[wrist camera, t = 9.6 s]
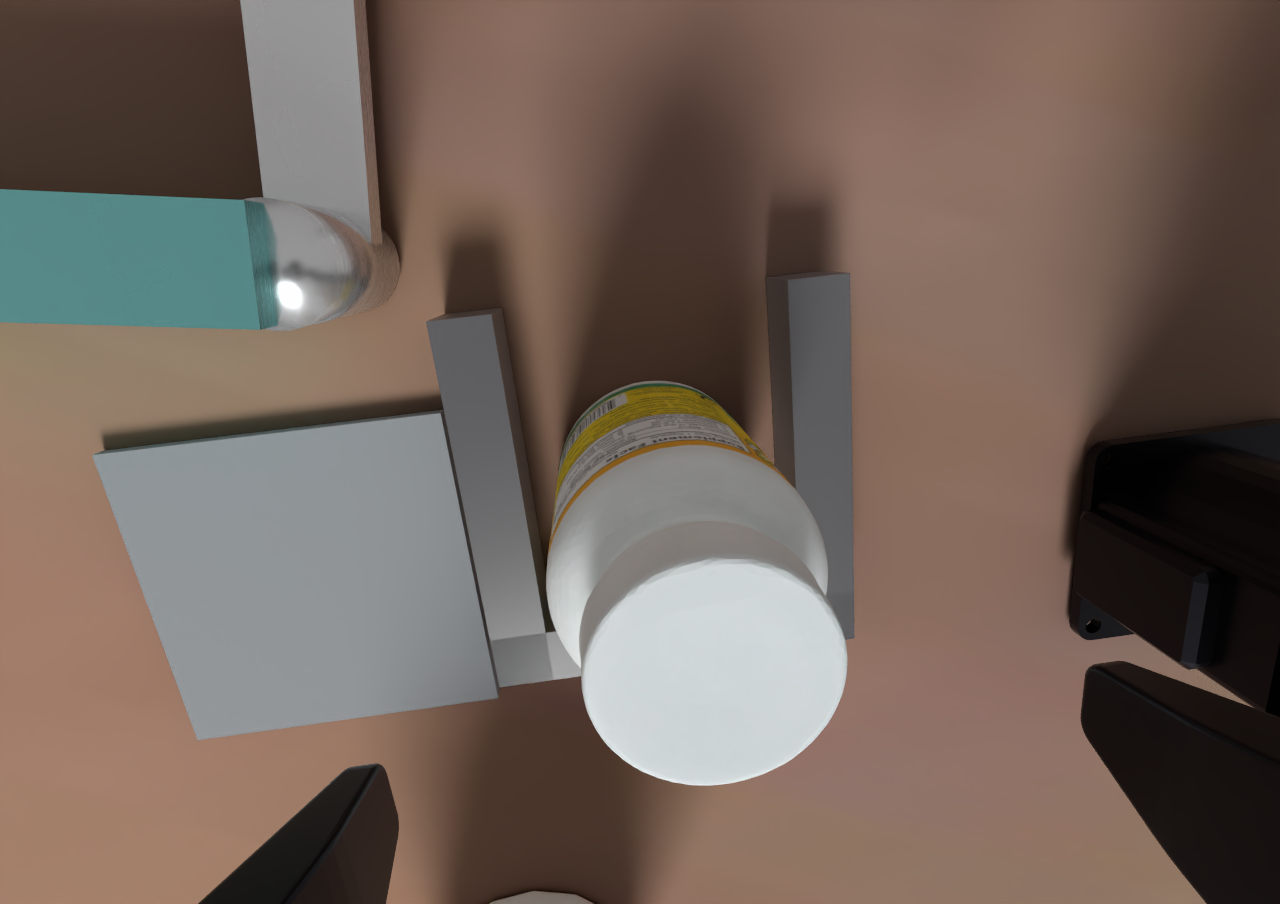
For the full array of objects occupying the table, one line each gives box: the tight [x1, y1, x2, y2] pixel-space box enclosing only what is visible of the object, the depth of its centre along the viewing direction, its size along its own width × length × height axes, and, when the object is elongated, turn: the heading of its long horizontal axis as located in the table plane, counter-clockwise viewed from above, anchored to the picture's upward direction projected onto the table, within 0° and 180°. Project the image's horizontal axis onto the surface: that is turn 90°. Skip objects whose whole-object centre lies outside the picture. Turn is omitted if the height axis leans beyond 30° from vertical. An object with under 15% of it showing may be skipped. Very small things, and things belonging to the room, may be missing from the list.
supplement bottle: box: [546, 381, 847, 785], centre depth 14 cm, size 5×5×10 cm
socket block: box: [426, 271, 854, 687], centre depth 18 cm, size 10×10×2 cm
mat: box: [92, 410, 500, 740], centre depth 19 cm, size 9×9×1 cm
